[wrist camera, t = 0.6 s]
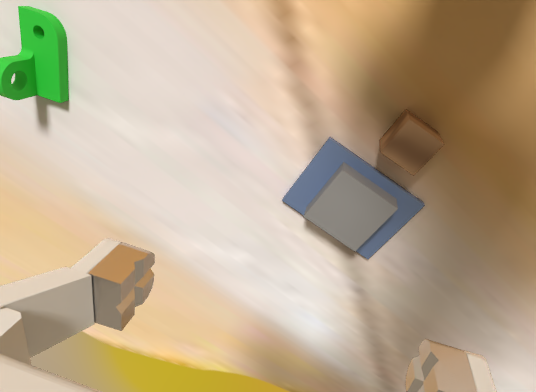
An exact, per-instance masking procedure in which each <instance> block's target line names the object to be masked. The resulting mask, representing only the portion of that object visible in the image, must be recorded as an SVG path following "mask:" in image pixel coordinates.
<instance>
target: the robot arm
mask: <svg viewBox="0 0 536 392" xmlns="http://www.w3.org/2000/svg"><path fill="white" fill-rule="evenodd" d="M154 263H155V254H153V253H152V252H150V251H147V250H144V249H141V248H138V247H135V246H132V245H130V244H127V243H122V242H120V241H117V240H114V239H111V238H106V239H104V240H102V241H101V242H100V243H99V244H98V245H97V246H95V247H94V248H93V249H92V250H91V251H90V252H88V253H87V254H86V255H85V256H84V257H83V258H81V259H80V260H79V261H78V262H77V263H76V264H74V265H73V266H72V267H71V268H68V267H63V268H60V269H56V270H53V271H49V272H46V273H43V274H39V275H36V276H32V277H29V278H26V279H22V280H19V281H15V282H12V283H9V284H5V285H2V286H0V392H101V391H99V390H96V389H93V388H90V387H88V386H85V385H83V384H80V383H77V382H75V381H72V380H69V379H67V378H64V377H61V376H59V375H56V374H53V373H51V372H48V371H45V370H42V369H40V368H37V367H35V366H32V365H31V360H30V358H31V357H33V356H35V355H37V354H39V353H41V352H42V351H44V350H46V349H48V348H50V347H52V346H54V345H56V344H58V343H60V342H61V341H63V340H65V339H67V338H69V337H71V336H73V335H75V334H77V333H79V332H80V331H82V330H84V329H86V328H88V327H90V326H92V325H94V322H95V323H98V324H101V325H104V326H107V327H110V328H114V329H117V330H120V331H122V330H123V328H124V327H125V326H126V325H127V323H128V322H129V321H130V320H131V318H132V317H133V316H134V313H135V307H136V306H139V305H141V304H143V303H144V301H145V300H146V299H147V297H148V295H149V293H150V291H151V289H152V286H153V282H154V273H153V272H152V270H151V267H152V266H153V265H154ZM406 392H497V391H496V388H495V385H494V382H493V379H492V376H491V373H490V370H489V367H488V365H487V362H486V359H485V358H484V357H483V356H481V355H478V354H475V353H471V352H468V351H465V350H461V349H457V348H454V347H451V346H448V345H444V344H441V343H438V342H435V341H431V340H428V339H425V340H424V341H422V343H421V344H420V346H419V356H417V357H415V358H412V360H411V362H410V364H409V366H408V370H407V374H406Z"/></svg>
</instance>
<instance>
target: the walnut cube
mask: <svg viewBox="0 0 536 392" xmlns="http://www.w3.org/2000/svg"><path fill="white" fill-rule="evenodd" d="M443 145H444V143H443V141H442V139H441V137H440V135H439V133H438V132H437V131H436V130H434V129H433V128H432V127H430V126H429V125H427V124H426V123H425V122H423V121H422V120H420V119H419V118H418V117H416V116H415V115H413V114H412V113H411V112H409V111H408V110H407V109H406V110H405V111H404V112H403V113H402V114H401V116H400V117H399V118H398V119H397V120H396V121H395V123H394V124H393V125H392V126H391V127H390V128H389V130H388V131H387V132H386V133H385V134H384V135H383V137H382V138H381V139H380V152H381V153H382V154H383V155H385V156H386V157H388V158H389V159H390V160H392V161H393V162H395V163H396V164H398V165H399V166H400V167H402V168H403V169H405V170H406V171H407V172H409V173H410V174H412V175H413V176H414V175H415V174H416V173H417V172H418V171H419V170H420V169H421V168H422V167H423V166H424V165H425V164H426V163H427V162H428V161H429V160H430V159H431V158H432V156H433V155H434V154H435V153H436V152H437V151H438V150H439V149H440V148H441V147H442V146H443Z"/></svg>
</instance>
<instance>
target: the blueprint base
mask: <svg viewBox="0 0 536 392" xmlns="http://www.w3.org/2000/svg"><path fill="white" fill-rule="evenodd" d="M282 201H283V202H285V203H286V204H288V205H289V206H291V207H292V208H294V209H295V210H296V211H298V212H299V213H301V214H302V215H304V216H303V217H305V218H306V219H308V220H309V221H311V222H312V223H313V224H315V225H316V226H318V227H319V228H321V229H322V230H324V231H325V232H327V233H328V234H330V235H331V236H332V237H334V238H335V239H337V240H338V241H340V242H341V243H343V244H344V245H346V246H347V247H349V248H350V249H351V250H353V251H354V252H355V251H356V252H358V253H359V254H361V255H362V256H364V257H365V258H367V259H369V258H370V257H371V256H372V255H373V254H374V253H375V252H376V251H377V250H378V249H379V248H380V247H382V246H383V245H384V244H385V243H386V242H387V241H388V240H389V239H390V238H391V237H392V236H393V235H394V234H395V233H396V232H397V231H398V230H399V229H401V228H402V227H403V226H404V225H405V224H406V223H407V222H408V221H409V220H410V219H411V218H412V217H413V216H414V215H415V214H416V213H417V212H418V211H419V210H421V209H422V208H423V207H424V206H425V205H424V203H423V202H422V201H421V200H419V199H418V198H416V197H415V196H413V195H412V194H411V193H409V192H408V191H406V190H405V189H403V188H402V187H401V186H399V185H398V184H396V183H395V182H394V181H392V180H391V179H389V178H388V177H386V176H385V175H384V174H382V173H381V172H379V171H378V170H376V169H375V168H374V167H372V166H371V165H369V164H368V163H367V162H365V161H364V160H362V159H361V158H359V157H358V156H357V155H355V154H354V153H352V152H351V151H349V150H348V149H347V148H345V147H344V146H342V145H341V144H340V143H338V142H337V141H335V140H334V139H332V138H331V137H329V139H328V140H327V141H326V143H325V144H324V145H323V147H322V148H321V149H320V151H319V152H318V153H317V154H316V156H315V157H314V158H313V160H312V161H311V162H310V164H309V165H308V166H307V167H306V169H305V170H304V171H303V173H302V174H301V175H300V177H299V178H298V179H297V181H296V182H295V183H294V184H293V186H292V187H291V188H290V190H289V191H288V192H287V194H286V195H285V196H284V198H283V199H282Z"/></svg>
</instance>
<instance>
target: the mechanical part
mask: <svg viewBox="0 0 536 392" xmlns="http://www.w3.org/2000/svg"><path fill="white" fill-rule="evenodd" d="M18 9H19V21H20V32H21V44H22V49H21V52H20V53H19V54H18V55H16V56H9V57H2V58H0V95H1V96H4V97H7V98H10V99H13V100H21V99H24V98H28V97H32V96H36V95H38V96H41V97H44V98H47V99H50V100H53V101H56V102H59V103H62V102H65V101H68V100H69V96H68V61H67V37H66V32H65V30H64V27H63V25H62V24H61V22H60V21H59V20H58V19H57V18H56V17H55V16H54V15H52V14H51V13H48V12H45V11H42V10H39V9H36V8H32V7H29V6H18ZM43 31H44V33H43ZM14 73H15V81H14V82H13V84H11V78H12V76H13V74H14Z"/></svg>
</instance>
